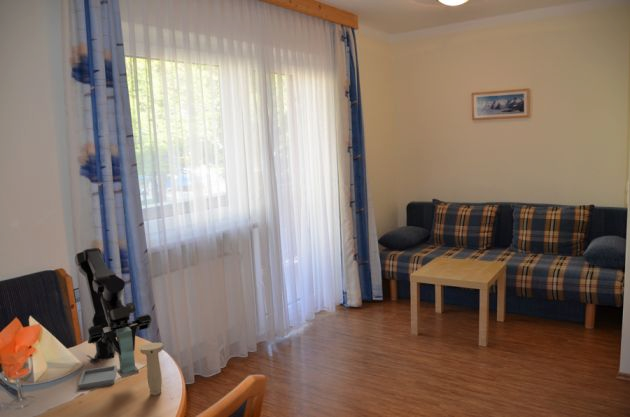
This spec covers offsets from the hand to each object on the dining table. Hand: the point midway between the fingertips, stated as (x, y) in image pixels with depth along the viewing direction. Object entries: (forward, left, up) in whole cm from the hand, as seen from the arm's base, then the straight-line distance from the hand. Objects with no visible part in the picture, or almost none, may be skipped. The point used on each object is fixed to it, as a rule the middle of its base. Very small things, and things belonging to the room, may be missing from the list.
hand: (127, 352), depth 154 cm
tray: (-10, -10, -12) cm, 19 cm away
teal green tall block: (-1, 0, -7) cm, 7 cm away
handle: (+6, +8, -12) cm, 15 cm away
